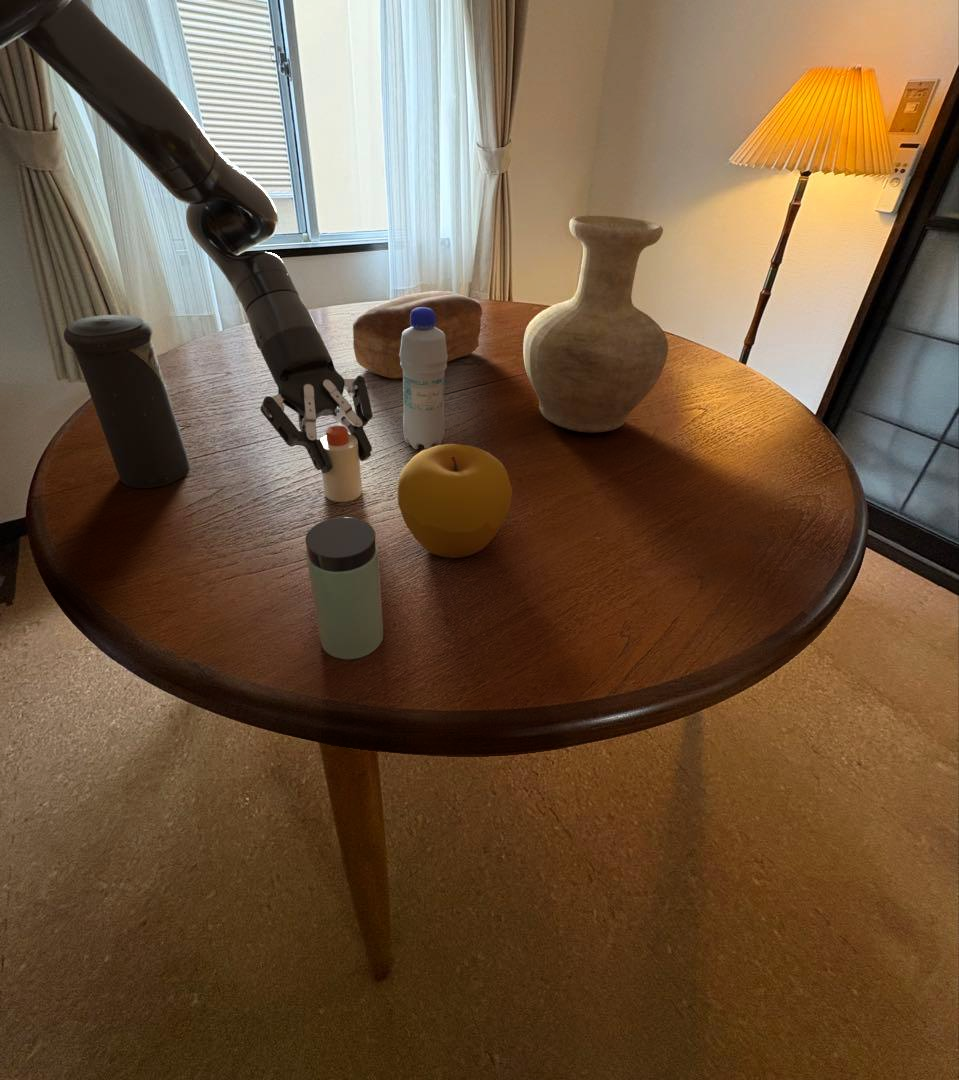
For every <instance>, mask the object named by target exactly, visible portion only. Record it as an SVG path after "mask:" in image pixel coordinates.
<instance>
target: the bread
mask: <svg viewBox="0 0 959 1080" xmlns="http://www.w3.org/2000/svg"><path fill="white" fill-rule="evenodd" d="M419 307H425V308H430V309H432V310H433V311H434V313H435V317H436V323H435V327H436V328H438V329H439V330H441V331H443V332H444V334H445V338H446V348H447V355H448V358H447V362H446V363H447V364H448V362H451V361H453V360H455V359H456V360H457V359H459V358H462V357H467V356H468V355H470V354H472V353H473V352H475V351H476V350H477V349H478V347H479V346H480V344H479V343H480V342H479V338H480V333H481V328H482V327H481V326H482V324H481V323H482V322H481V321H482V319H481V318H482V316H483V308H482V306H481V304H480V303H479V302H477V301H476V300H475V299H473V298H471V297H469V296H465V295H462V294H459V293H456V292H453V291H445V290H441V291H440V290H431V291H423V292H418V293H410V294H405V295H400V296H399V297H396V298H392V299H390V300H387V301H385V302H382V303H378V304H376V305H373V306H372V307H370V308H368V309H366V310H365V311H363V312H362V313H360V314H358V316H357V317H356V318H355V320H354V322H353V325H352V336H353V343H352V344H353V345H352V346H353V352H354V356H355V361H356V363H357V364H358V365H359V366H360V367H362V368H363V369H365V370H367V371H368V372H370V373H372V374H375V375H378V376H381V377H385V378H389V379H403V369H402V367H401V365H400V363H401V359H400V348H401V338H402V333H403V331H404V330H406V329H408V328H410V327H412V326H411V323H410V315H411V311H412V310H413V309H415V308H419Z"/></svg>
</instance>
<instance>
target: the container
mask: <svg viewBox="0 0 959 1080" xmlns="http://www.w3.org/2000/svg"><path fill="white" fill-rule="evenodd" d="M152 335H153V328H152V325H151V324H150V323H149V322H148V321H146V320H144V319H143V318H140V317H138V316H135V315H128V314H102V315H93V316H86V317H83V318H80V319H76V320H75V321H73V322H71V323H70V324H69V325H68V326H67V327H66V328H65V329H64V331H63V340H64V341H65V343H66V344H67V345H68V346H70V347H71V349H73V352H74V355H75V358H76V360H77V363H78V365H79V367H80V370H81V373H82V376H83V378H84V380H85V382H86V387H87V389H88V391H89V395H90V398H91V401H92V403H93V406H94V408H95V411H96V415H97V417H98V420H99V423H100V426H101V428H102V431H103V434H104V437H105V440H106V443H107V446H108V448H109V451H110V455H111V457H112V460H113V464H114V466H115V469H116V472H117V474H118V477H119V479H120V482H121V483H123V484H124V485H125V486H128V487H129V488H134V489H151V488H157V487H163V486H166V485H170V484H172V483H174V482H177V481H178V480H180V479H183V477H185V476H186V475H187V474H188V473H189V471H190V469H191V463H190V459H189V455H188V452H187V448H186V445H185V443H184V439H183V436H182V433H181V430H180V427H179V424H178V420H177V418H176V414H175V411H174V408H173V406H172V402H171V398H170V395H169V391H168V389H167V385H166V382H165V380H164V376H163V373H162V370H161V367H160V364H159V361H158V357H157V354H156V351H155V347H154V345H153V342H152Z"/></svg>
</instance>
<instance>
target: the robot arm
mask: <svg viewBox="0 0 959 1080" xmlns="http://www.w3.org/2000/svg"><path fill="white" fill-rule="evenodd" d="M17 39H20V40H21V41H22V42H24V43H25V44H26V46H28V47H29V48H30V49H31V50H32V51H33V52H34V53H35V54H37V56H39V58H41V60H43V61H44V62H45V63H46V64H47V65H48V66H49V67H50V68H51V69H52V70H53V71H54V72H55V73H56V74H58V76H59V77H60V78H61V79H62V80H64V81H65V82H66V83H67V84H68V85H69V86H70V88H72V89H73V90H74V92H75V93H77V95H78V96H79V97H80V98H81V99H83V100H84V102H86V104H88V105H89V107H90V108H91V109H92V110H93V111H94V112H95V113H96V114H97V115H98V116H99V117H100V118H101V119H102V120H103V121H104V122H105V123H106V124H107V125H108V127H109V128H110V129H111V130H112V131H113V132H114V133H115V134H116V135H117V136H118V137H119V138H120V139H121V140H122V142H123V143H124V144H125V145H126V146H127V148H128V149H130V150H131V152H132V153H133V154H134V155H135V156H136V157H137V159H139V161H140V162H141V163H142V164H144V166H145V167H146V168H147V169H148V170H149V172H150V173H151V174H152V175H153V176H154V177H155V178H156V179H157V180H158V182H159V183H161V184H162V186H163V187H164V188H165V189H166V190H167V191H168V192H169V194H171V195H172V196H173V197H174V198H175V199H177V200H178V201H180V202H182V203H185V204H188V206H187V208H186V211H185V221H186V226H187V228H188V231H189V233H190V235H191V236H192V238H193V239H194V240H195V242H196V243H197V245H198V246H199V247H200V248H201V249H202V250H203V251H204V252H205V254H206V255H208V257H209V258H210V259H211V260H212V261H213V262H214V263H215V265H216V266H217V267H218V269H219V270H220V271H221V273H222V274H223V275H224V276H225V278H226V280H227V281H228V283H229V284H230V286H231V287H232V289H233V291H234V293H235V295H236V297H237V299H238V302H239V303H240V306H241V308H242V310H243V312H244V314H245V317H246V319H247V321H248V324H249V328H250V330H251V333H252V336H253V339H254V340H255V344H256V347H257V349H258V350H259V351H260V353H261V355H262V358H263V359H264V362H265V363H266V367H267V368H268V370H269V371H270V374H271V376H272V379H273V380H274V383H275V384H276V386H277V390H278V392H277V394H276V395H274V396H265V397H264V398H263V400H262V403H261V406H260V409H259V410H260V412H261V414H262V415H263V416H264V417H265V418H266V420H267V421H268V422H269V424H270V425H271V427H272V428H274V430H275V431H276V432H277V434H278V435H279V436H280V438H282V439H283V441H284V442H285V444H286V445H287V446H288V447H295V446H300V447H303V448H305V450H306V451H307V453H308V455H309V457H310V460H311V462H312V464H313V466H314V469H316V470H317V471H321V474H322V473H327V472H329V471H330V470H331V469H332V464H331V462H330V459H329V457H328V455H327V453H326V451H325V449H324V447H323V445H322V442H321V440H320V439H318V438H317V437H318V434H317V424H316V423H317V419H319V418H320V417H329V416H331V417H332V418H333V419H334V420H335V422H337V423H340V424H341V426H343V427H346V428H347V430H348V434H351V435H353V436H355V437H356V438H357V440H358V450H359V461H360V462H364V461H367V460H369V459H370V457H372V452H373V447H372V445H371V442H370V440H369V438H368V436H367V433H366V431H365V429H364V427H365V426H367V424H368V422H370V421H371V420H372V419H373V411H372V405H371V401H370V396H369V392H368V387H367V382H366V378H365V377H364V376H363V375H357V376H356V377H355V378H344V377H343V376H342V375H341V374H340V373H339V372H338V371H337V370H336V368H335V364H334V362H333V359H332V357H331V354H330V352H329V350H328V348H327V346H326V343H325V342H324V339H323V337H322V336H321V333H320V331H319V330H318V329H319V328H318V327H317V325H316V323H315V321H314V319H313V317H312V314H311V313H310V311H309V308H308V307H307V306H306V304H305V303H304V301H303V299H302V298H301V295H300V293H299V292H298V288H297V287H296V284H295V283H294V280H293V278H292V276H291V274H290V272H289V270H288V267H287V266H286V264H285V262H284V261H283V260H282V259H281V258H280V256H278V255H277V254H275V253H272V252H267V251H257V252H251V253H245V252H246V251H249V250H250V249H252V248H255V247H256V246H259V244H262V243H265V242H266V241H268V240H270V239H271V238H272V237H274V235H276V233H277V230H278V226H279V216H278V212H277V209H276V206H275V204H274V202H273V200H272V199H271V197H270V196H269V194H268V193H267V192H266V190H265V189H264V188H263V187H262V186H261V185H260V184H259V183H258V182H257V181H256V180H255V179H253V178H252V177H251V176H250V175H249V174H247V173H246V172H244V170H242V169H240V168H239V167H238V166H236V164H234V163H233V162H232V161H230V160H229V159H228V158H227V157H225V156H224V155H223V153H221V151H219V150H218V149H217V148H216V147H215V145H214V144H213V142H212V141H211V140H210V138H209V137H208V135H207V134H206V133H205V131H204V130H203V129H202V127H201V126H200V125H199V123H198V122H197V120H196V119H195V118H194V116H193V115H192V113H191V112H190V111H189V110H188V108H187V107H186V105H185V104H184V103H183V101H181V100H180V98H179V97H178V96H177V95H176V94H175V93H174V92H173V91H172V89H170V88H169V86H167V84H166V83H165V82H164V81H163V80H162V79H161V78H160V77H159V76H158V75H157V74H156V72H154V71H153V70H152V69H151V68H150V67H149V66H148V65H147V64H146V63H145V62H143V60H142V59H141V58H140V57H139V56H137V55H136V54H135V53H134V52H133V51H132V50H131V49H130V48H129V47H128V46H127V45H126V44H125V43H124V42H123V41H122V40H121V39H119V37H118V36H117V35H115V33H113V31H111V29H110V28H109V27H107V26H106V24H105V23H104V22H103V21H102V20H101V19H100V18H99V17H98V16H97V15H96V14H95V12H94V11H93V10H92V9H91V8H90V7H89V5H87V4H86V2H85V1H83V0H0V50H1V49H3V48H4V47H6V46H7V45H10V44H11V43H12V42H14V41H16V40H17ZM243 253H245V254H243ZM344 390H345V391H346V392H347V394H348V396H349V398H352V401H353V407H354V410H353V407H352V405H351V403H350V402H349V401H348V400H347V399H346V398H345V397H344V395H343V394H344ZM284 405H285V406H286V407H288V408H290V409H291V410H292V411H294V412H295V413H297V416H298V418H297V419H298V428H299V429H298V428H297V426H296V425H295V424H294V423H293V422H292V420H291V419H290V418H289V416H288V415H287V414H286V413H285V406H284Z"/></svg>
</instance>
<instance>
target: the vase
mask: <svg viewBox="0 0 959 1080" xmlns="http://www.w3.org/2000/svg"><path fill="white" fill-rule="evenodd" d="M568 225H569V231H570V233H571V235H572V237H574V238H575V239H577V240H579V241H580V243H581V245H582V259H581V267H580V273H579V278H578V284H577V287H576V292H575V294H574V296H573V297H572V298H570V299H568V300H564V301H561V302H559V303H555V304H553V305H551V306H549V307H547V308H545V309H542V311H540V312H539V313H538V314H537V315H535V316H534V317H533V318H532V319H531V321H529V323H528V324H527V326H526V327H525V331H524V335H523V343H522V344H523V345H522V347H523V348H522V350H523V364H524V368H525V372H526V375H527V377H528V380H529V382H530V385H531V387H532V389H533V391H534V393H535V395H536V397H537V399H538V404H539V405H538V406H539V408H538V409H539V411H540V413H541V415H542V416H543V417H544V419H546V420H547V421H548V422H550V423H551V424H553V425H555V426H558V427H560V428H562V429H565V430H569V431H573V432H579V433H588V434H589V433H592V434H593V433H595V434H596V433H606V432H610V431H614V430H616V429H619V428H620V427H621V426H623V425H624V423H625V422H627V419H628V416H629V415H630V413H631V412H632V411H633V410H634V409H635V408H636V407H637V406H638V405H640V403H641V402H642V401H643V400H644V399H645V398H646V397H647V396H648V394H649V393H650V392H651V391H652V390H653V389H654V387H655V386H656V384H657V383H658V381H659V379H660V377H661V374H662V373H663V370H664V367H665V365H666V362H667V357H668V353H669V342H668V339H667V336H666V333H665V332H664V330H663V328H662V327H661V326H660V324H659V323H657V322H656V321H655V320H654V319H653V318H652V317H651V316H650V315H648V314H647V313H645V312H643V311H642V310H640V309H639V308H637V307H636V306H635V305H634V303H633V301H632V300H633V299H632V296H633V295H632V294H633V289H634V288H633V287H634V282H635V276H636V272H637V267H638V262H639V258H640V255H641V253H642V252H643V251H644V249H646V248H647V247H650V246H652V245H655V244H657V242H658V241H659V240H660V239H661V237H662V235H663V233H664V228H663V227H662V225H660V224H658V223H656V222H651V221H648V220H644V219H639V218H631V217H630V218H629V217H622V216H614V215H613V216H611V215H581V216H574V217H572V218H571V219H570V220H569V224H568Z"/></svg>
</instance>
